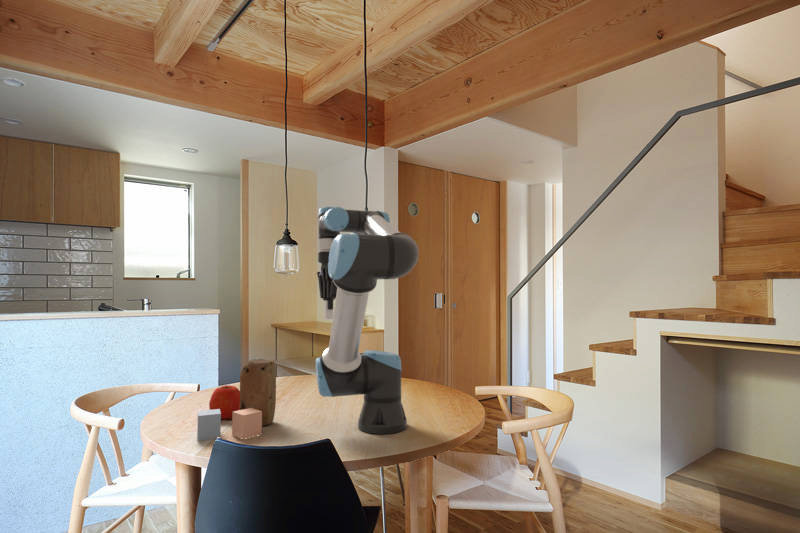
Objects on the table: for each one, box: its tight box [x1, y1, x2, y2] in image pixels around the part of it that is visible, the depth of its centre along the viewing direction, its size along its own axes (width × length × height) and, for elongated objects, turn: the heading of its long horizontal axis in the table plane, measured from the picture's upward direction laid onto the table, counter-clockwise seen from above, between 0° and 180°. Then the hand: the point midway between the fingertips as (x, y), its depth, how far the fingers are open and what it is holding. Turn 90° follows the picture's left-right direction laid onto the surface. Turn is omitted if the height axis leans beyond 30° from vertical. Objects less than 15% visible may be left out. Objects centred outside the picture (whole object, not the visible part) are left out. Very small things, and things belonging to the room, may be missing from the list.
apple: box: [208, 385, 240, 420], centre depth 157 cm, size 11×11×11 cm
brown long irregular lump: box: [239, 358, 277, 427], centre depth 149 cm, size 11×8×20 cm
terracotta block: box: [231, 408, 263, 439], centre depth 137 cm, size 6×6×7 cm
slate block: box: [196, 409, 222, 442], centre depth 136 cm, size 6×6×7 cm
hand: (328, 319), depth 163 cm, fingers closed
